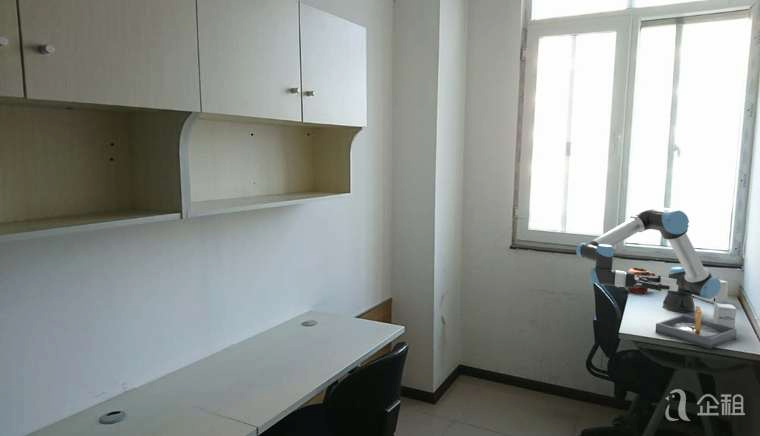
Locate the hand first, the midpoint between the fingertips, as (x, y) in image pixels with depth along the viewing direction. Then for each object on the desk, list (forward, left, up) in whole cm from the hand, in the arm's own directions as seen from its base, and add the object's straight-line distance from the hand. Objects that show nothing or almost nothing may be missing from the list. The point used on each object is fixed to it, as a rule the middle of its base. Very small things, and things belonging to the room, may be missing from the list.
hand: (677, 285), depth 235 cm
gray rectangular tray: (-9, +5, -24) cm, 26 cm away
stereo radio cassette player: (-77, -22, -24) cm, 84 cm away
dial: (-9, +5, -22) cm, 25 cm away
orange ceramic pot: (-60, -52, -24) cm, 83 cm away
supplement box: (-27, +9, -24) cm, 38 cm away
